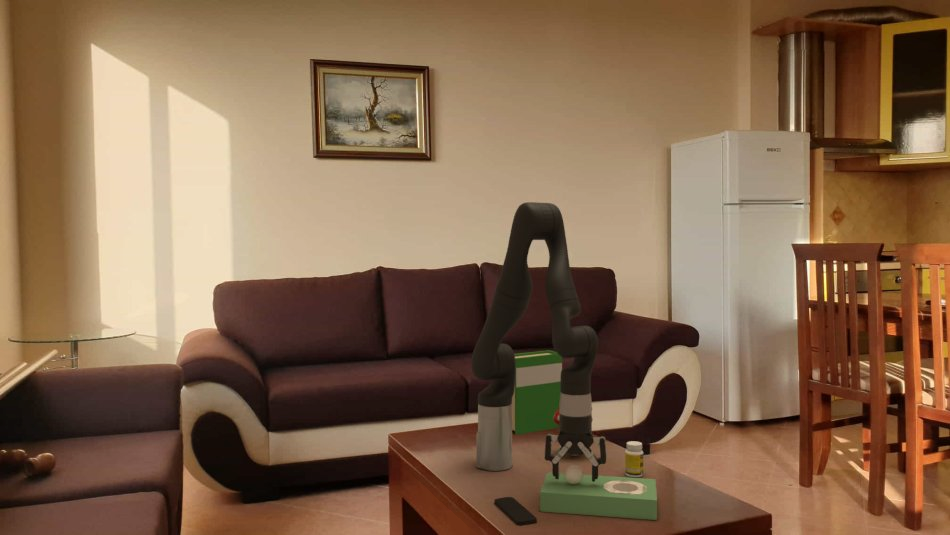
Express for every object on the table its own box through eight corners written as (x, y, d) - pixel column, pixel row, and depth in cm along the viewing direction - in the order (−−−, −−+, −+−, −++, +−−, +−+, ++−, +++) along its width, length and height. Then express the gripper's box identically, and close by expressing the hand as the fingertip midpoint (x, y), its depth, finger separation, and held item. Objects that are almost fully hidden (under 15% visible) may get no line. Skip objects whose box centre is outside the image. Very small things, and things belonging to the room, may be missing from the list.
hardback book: (516, 434, 236) (516, 358, 234) (503, 429, 242) (503, 355, 241) (561, 426, 244) (562, 353, 243) (548, 421, 251) (548, 350, 249)
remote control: (538, 527, 166) (511, 501, 180) (538, 519, 166) (512, 494, 180) (517, 530, 164) (492, 504, 178) (518, 522, 164) (492, 496, 178)
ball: (563, 486, 176) (563, 467, 176) (564, 480, 180) (564, 462, 180) (582, 487, 175) (582, 469, 175) (583, 481, 179) (583, 463, 179)
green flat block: (540, 511, 173) (540, 492, 172) (547, 490, 186) (547, 472, 186) (656, 520, 167) (657, 500, 167) (655, 497, 181) (655, 479, 181)
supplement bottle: (643, 478, 195) (643, 446, 194) (624, 477, 196) (625, 445, 195) (643, 472, 199) (643, 441, 199) (624, 471, 200) (625, 440, 200)
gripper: (543, 413, 174) (543, 482, 175) (605, 416, 171) (605, 486, 172) (547, 406, 182) (547, 472, 183) (607, 408, 179) (606, 476, 180)
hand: (575, 479), depth 177 cm, fingers open, 8 cm apart
